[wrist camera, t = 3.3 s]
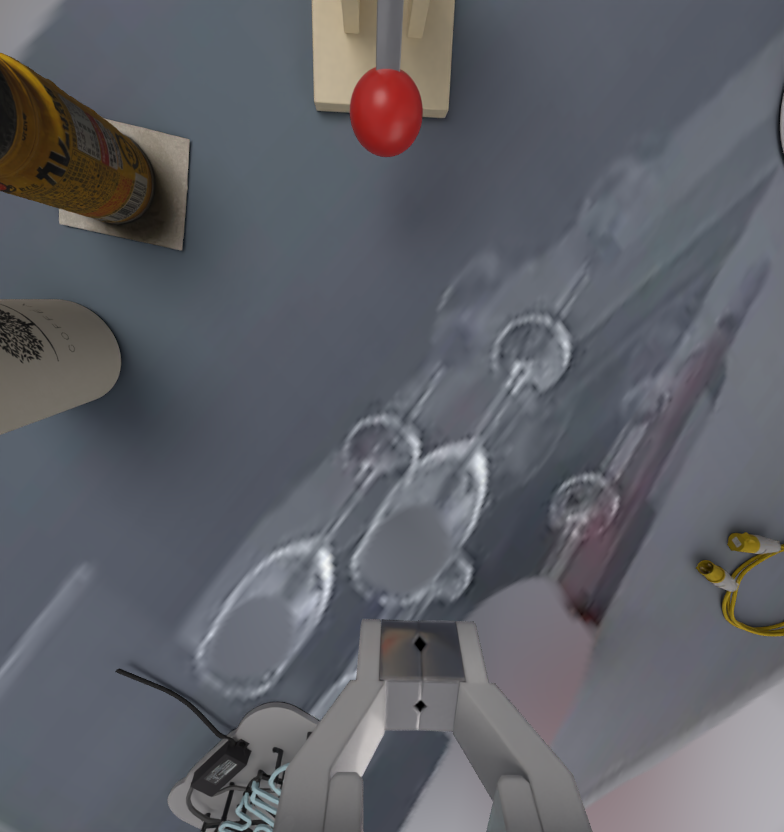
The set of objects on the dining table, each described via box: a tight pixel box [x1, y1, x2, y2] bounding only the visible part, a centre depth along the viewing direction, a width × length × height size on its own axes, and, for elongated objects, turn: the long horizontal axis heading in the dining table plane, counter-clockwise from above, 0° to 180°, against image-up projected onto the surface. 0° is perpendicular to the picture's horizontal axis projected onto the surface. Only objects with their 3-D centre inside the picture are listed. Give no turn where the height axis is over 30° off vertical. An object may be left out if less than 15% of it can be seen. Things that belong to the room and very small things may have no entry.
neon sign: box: [116, 669, 320, 832], centre depth 42 cm, size 21×4×29 cm
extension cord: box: [696, 532, 784, 636], centre depth 40 cm, size 12×16×2 cm
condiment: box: [0, 53, 190, 251], centre depth 22 cm, size 7×8×12 cm
